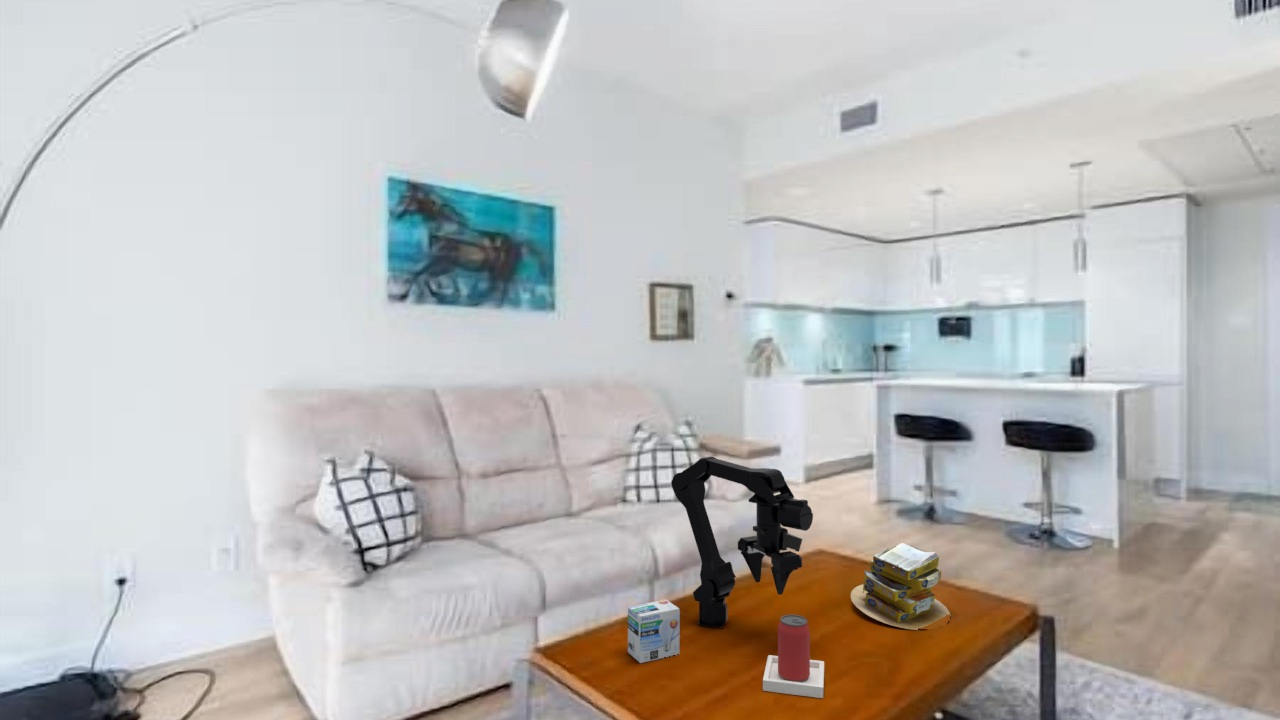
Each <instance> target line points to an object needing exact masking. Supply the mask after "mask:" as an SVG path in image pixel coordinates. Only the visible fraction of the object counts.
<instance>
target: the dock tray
mask: <svg viewBox="0 0 1280 720" xmlns="http://www.w3.org/2000/svg"><path fill="white" fill-rule="evenodd" d="M765 664H766V665H765V668H764V674H763V678H762V691H763V692H764V691H765V692H771V693H777V694H778V693H780V694H786V695H793V696H794V695H795V696H801V697H802V696H803V697H811V698H817V699H824V690H825V689H824V688H825V684H824V682H825V661H823V660H815V659H810V675H809V677H808V678H807V679H806V680H804V681H799V682H793V681H788V680H786V679H784V678H782V677H781V676H780V675H779V673H778V655H771V654H768V655H767V659H766V663H765Z"/></svg>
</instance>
